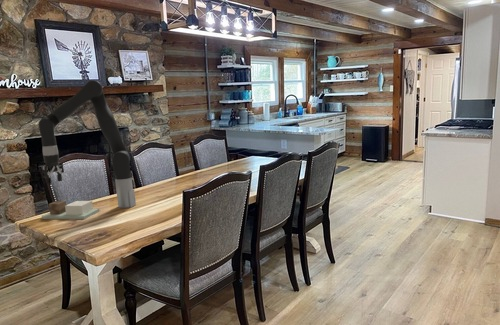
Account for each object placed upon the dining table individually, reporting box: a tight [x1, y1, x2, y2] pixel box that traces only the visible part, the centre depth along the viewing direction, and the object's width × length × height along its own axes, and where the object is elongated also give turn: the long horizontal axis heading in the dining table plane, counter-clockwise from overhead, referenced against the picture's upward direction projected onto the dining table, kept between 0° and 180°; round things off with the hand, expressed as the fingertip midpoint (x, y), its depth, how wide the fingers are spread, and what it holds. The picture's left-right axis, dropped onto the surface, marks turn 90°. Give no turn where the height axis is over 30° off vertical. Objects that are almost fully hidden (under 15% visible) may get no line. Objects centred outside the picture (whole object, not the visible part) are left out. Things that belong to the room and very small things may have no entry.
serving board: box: [41, 208, 100, 220], centre depth 214 cm, size 26×14×2 cm, turn 80°
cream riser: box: [65, 200, 94, 215], centre depth 213 cm, size 10×10×5 cm
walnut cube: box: [48, 200, 67, 215], centre depth 213 cm, size 6×6×6 cm
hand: (54, 182), depth 213 cm, fingers open, 8 cm apart
